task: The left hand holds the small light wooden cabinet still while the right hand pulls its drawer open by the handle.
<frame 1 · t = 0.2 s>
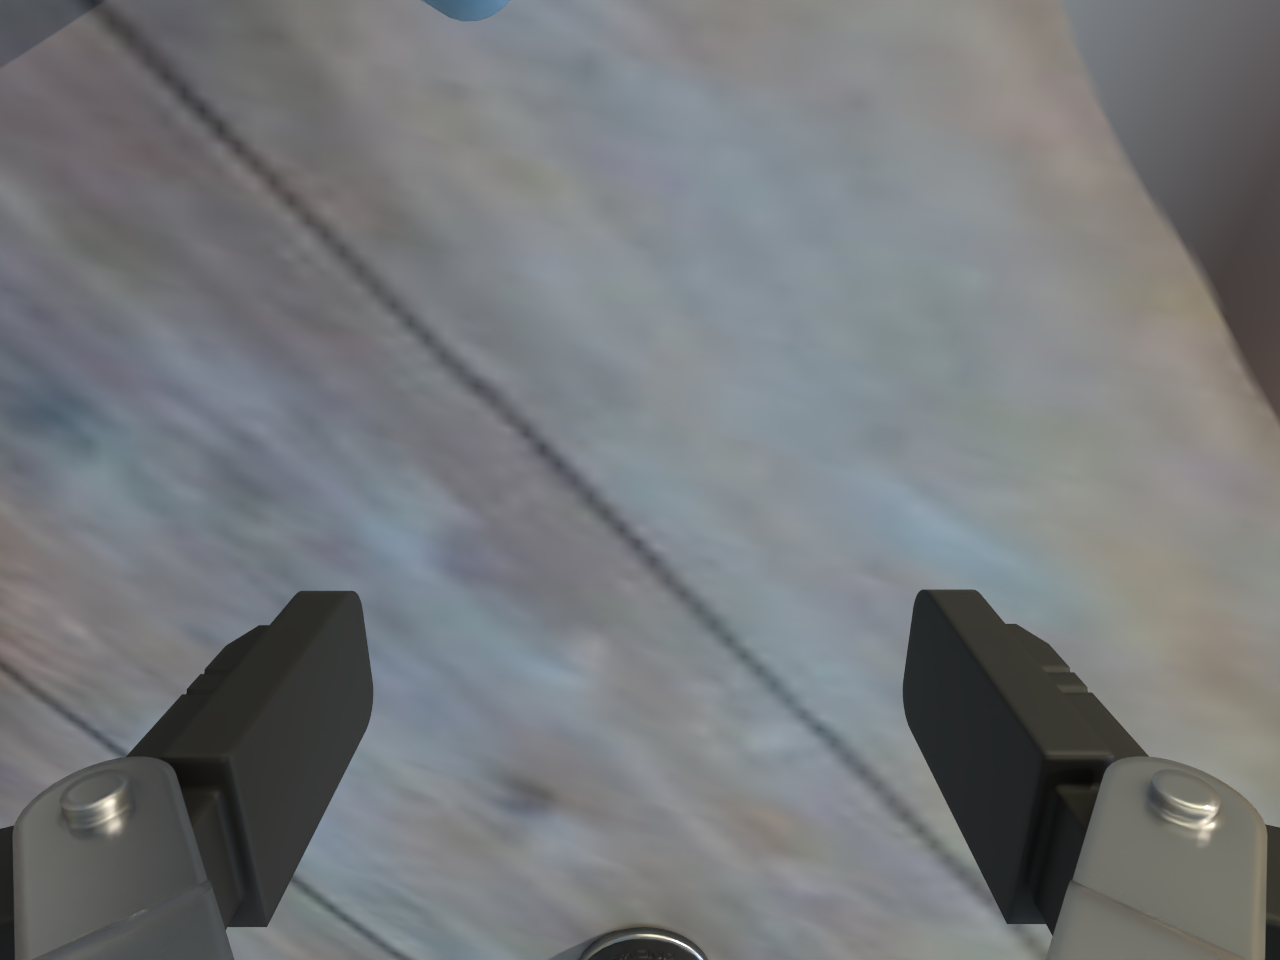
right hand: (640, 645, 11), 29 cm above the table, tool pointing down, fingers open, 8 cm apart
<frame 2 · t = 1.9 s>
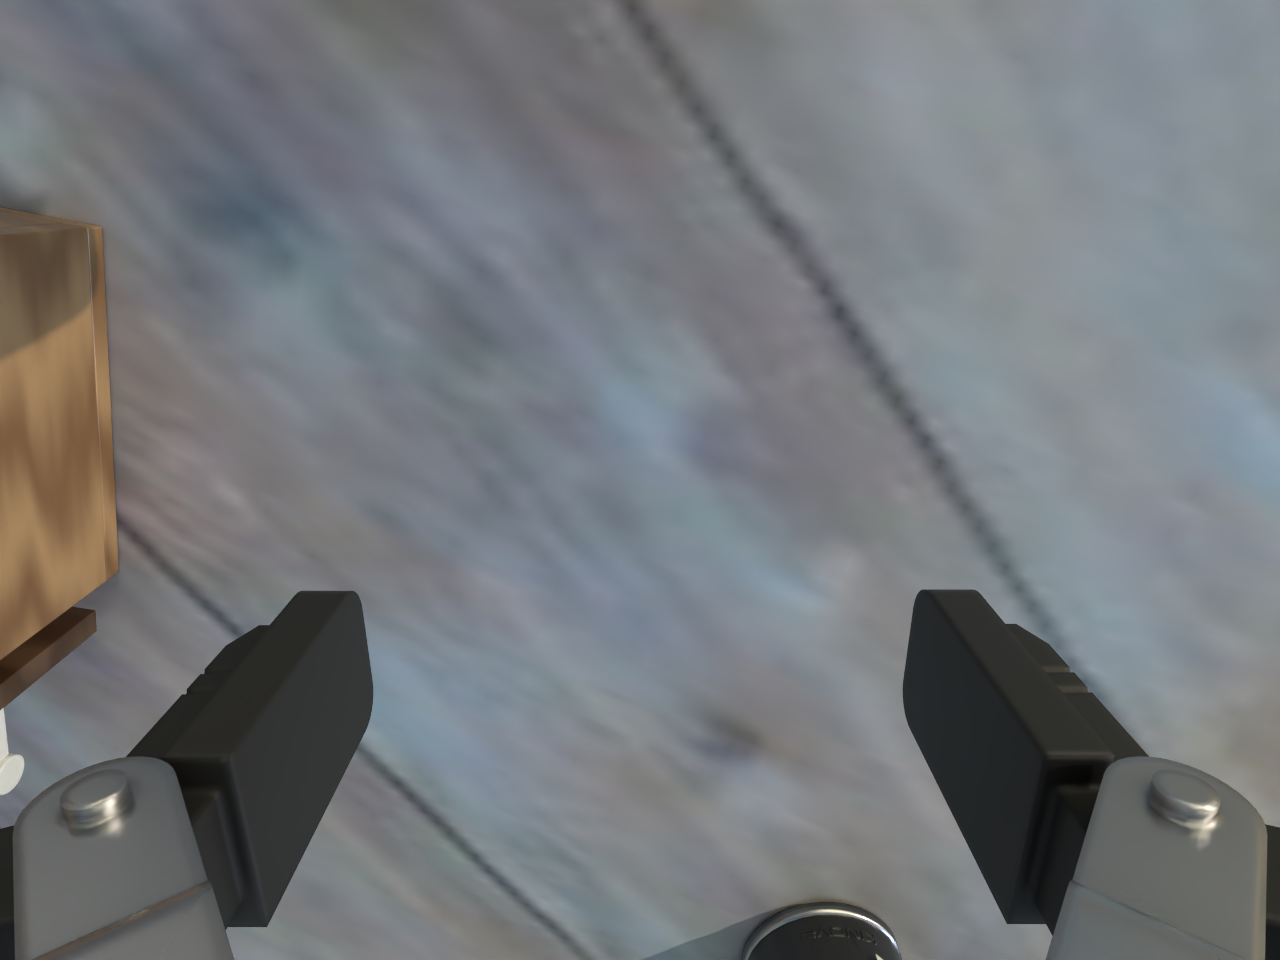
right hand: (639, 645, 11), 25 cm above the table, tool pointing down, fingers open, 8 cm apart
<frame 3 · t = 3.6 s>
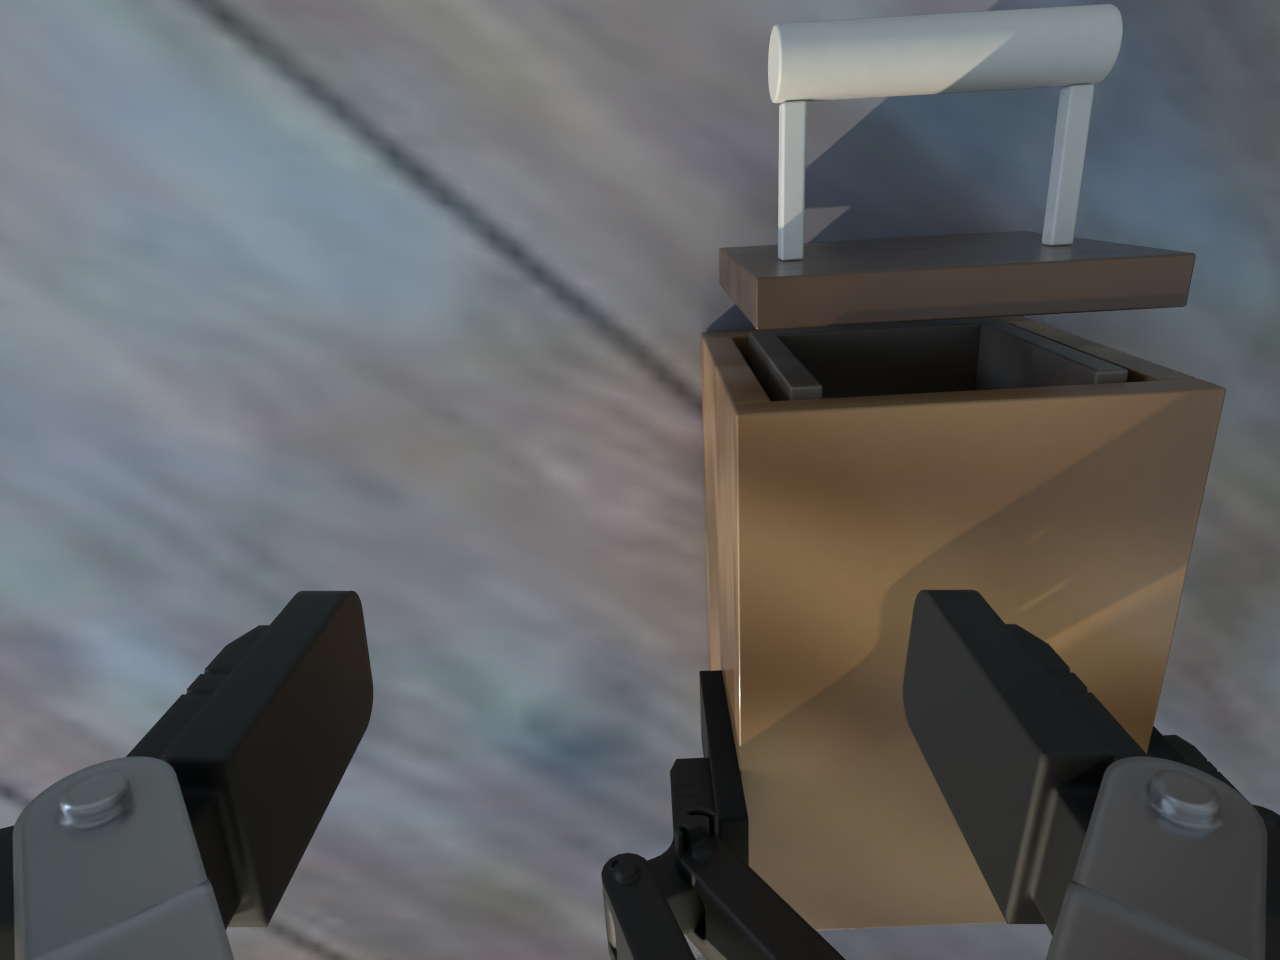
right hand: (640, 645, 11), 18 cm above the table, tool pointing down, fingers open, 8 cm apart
cabinet: (849, 535, 31), on the table, touching left hand
drawer: (903, 415, 23), point 5 cm above the table, slide at 1.7 cm
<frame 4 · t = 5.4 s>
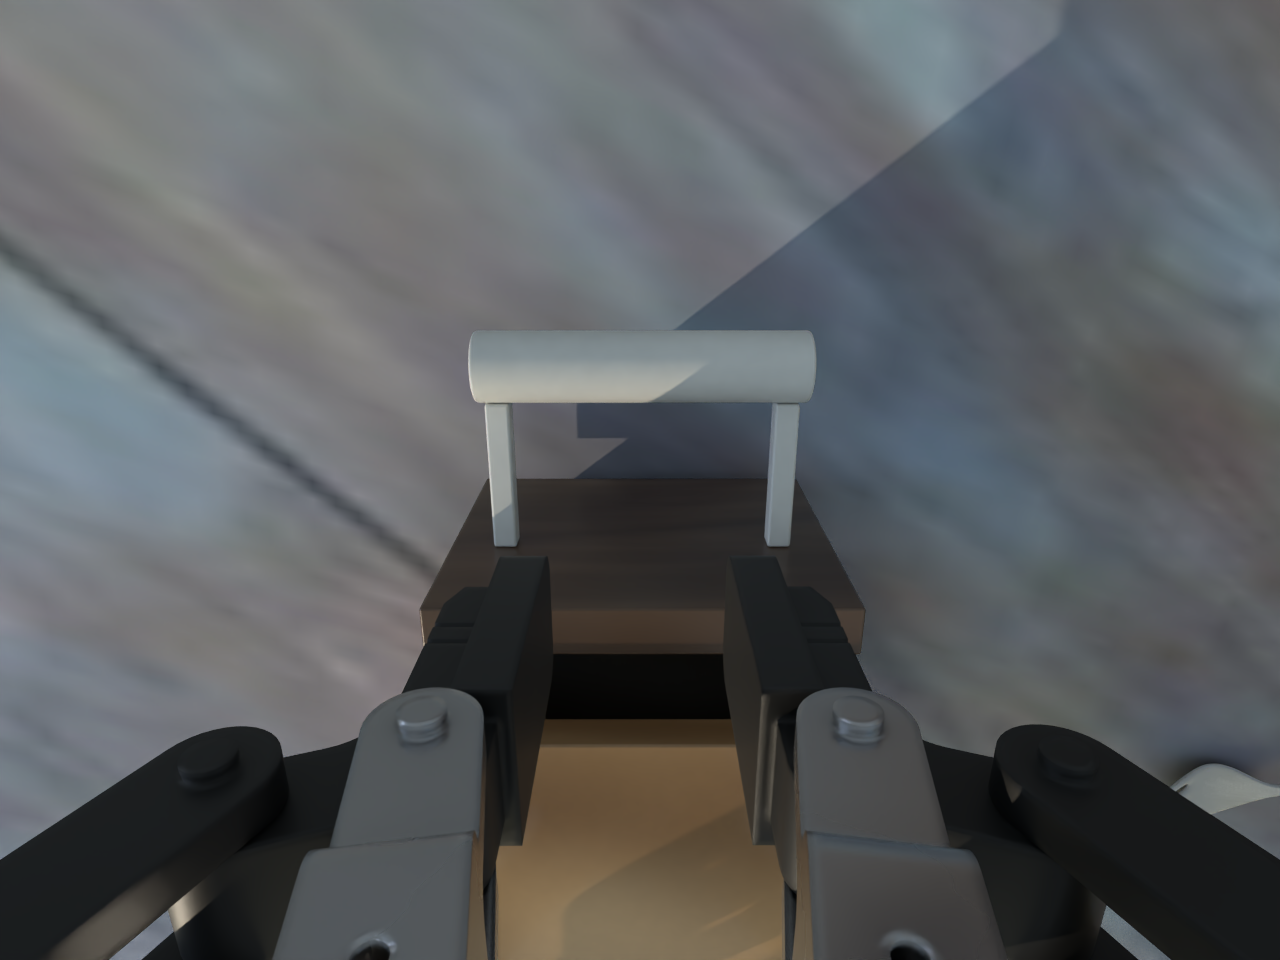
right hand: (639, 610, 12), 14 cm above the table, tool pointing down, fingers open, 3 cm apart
cabinet: (641, 740, 30), on the table, touching left hand
drawer: (641, 679, 23), point 5 cm above the table, slide at 1.7 cm
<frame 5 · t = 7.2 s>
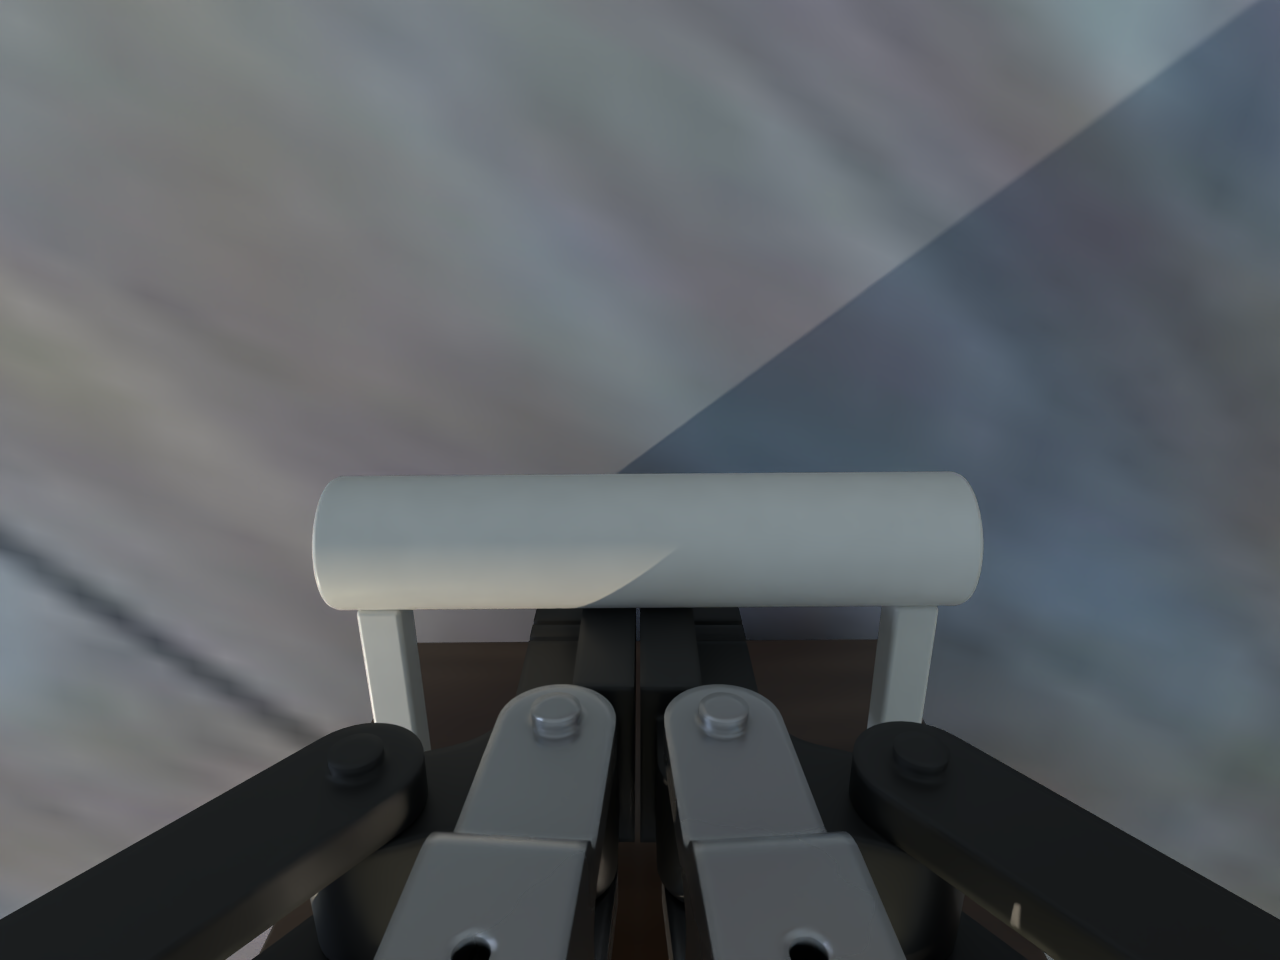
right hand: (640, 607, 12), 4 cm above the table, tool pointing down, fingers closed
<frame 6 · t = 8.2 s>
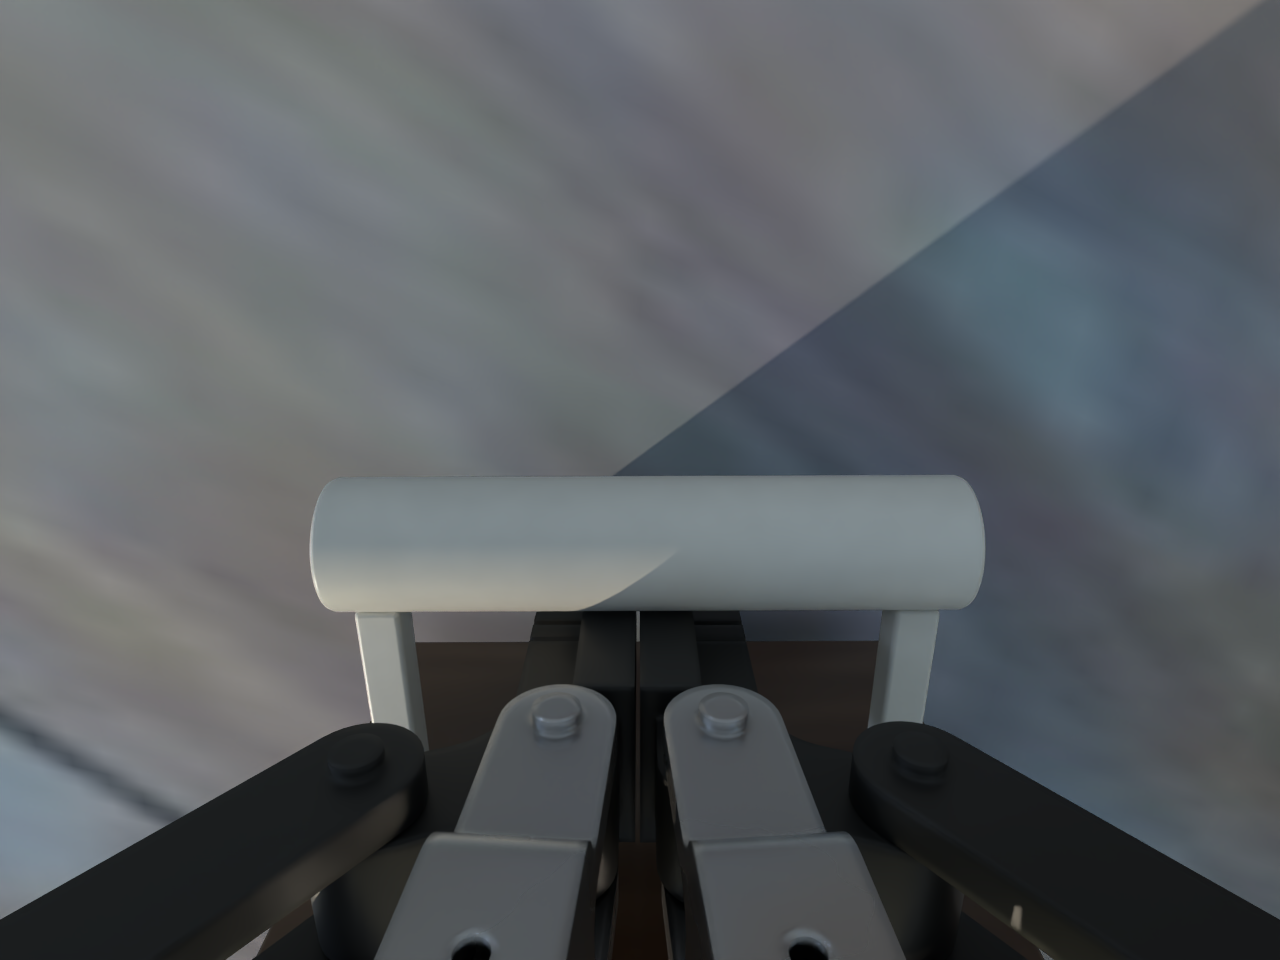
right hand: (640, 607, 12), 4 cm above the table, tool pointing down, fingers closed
when the left hand's fingers open (6 cm above the table, at t = 9.8 s): cabinet stays where it is, on the table.
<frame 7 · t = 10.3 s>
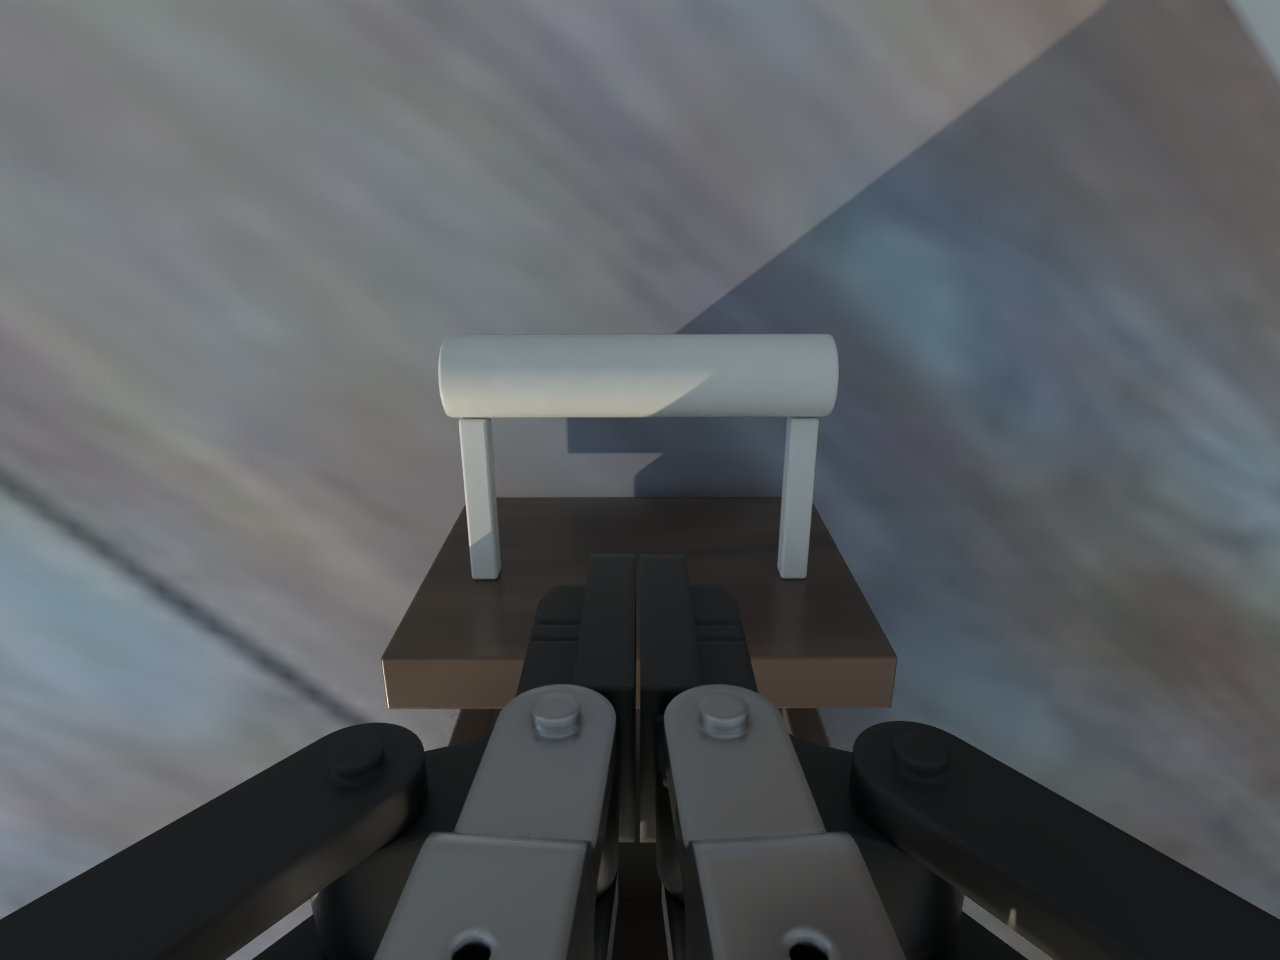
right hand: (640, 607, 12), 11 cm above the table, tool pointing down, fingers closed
drawer: (639, 723, 21), point 5 cm above the table, slide at 8.2 cm
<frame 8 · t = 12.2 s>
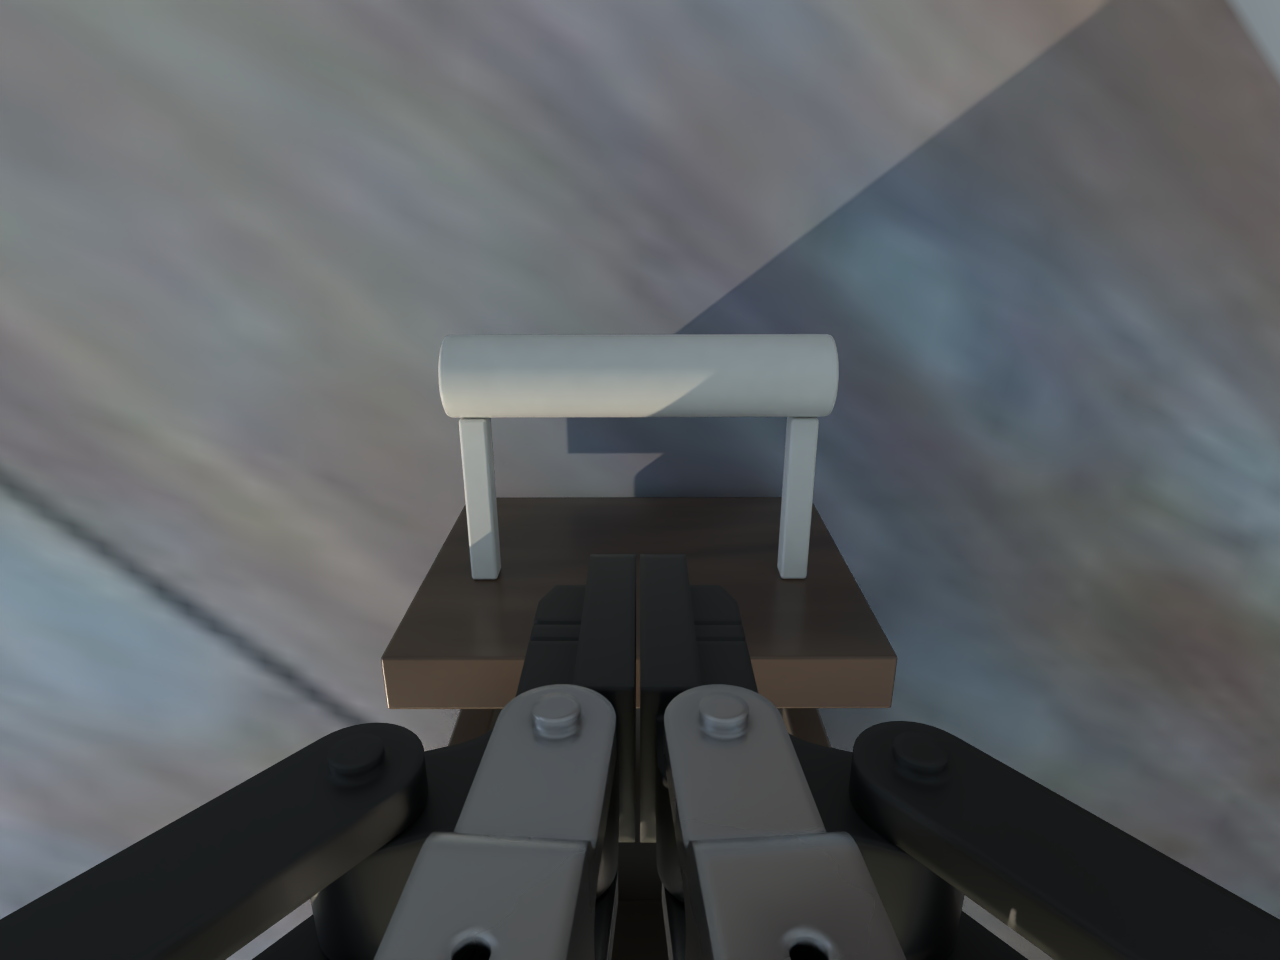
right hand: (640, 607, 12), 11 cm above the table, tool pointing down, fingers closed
drawer: (639, 723, 21), point 5 cm above the table, slide at 8.2 cm
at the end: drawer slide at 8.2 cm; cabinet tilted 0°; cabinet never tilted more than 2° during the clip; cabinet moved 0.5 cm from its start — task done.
